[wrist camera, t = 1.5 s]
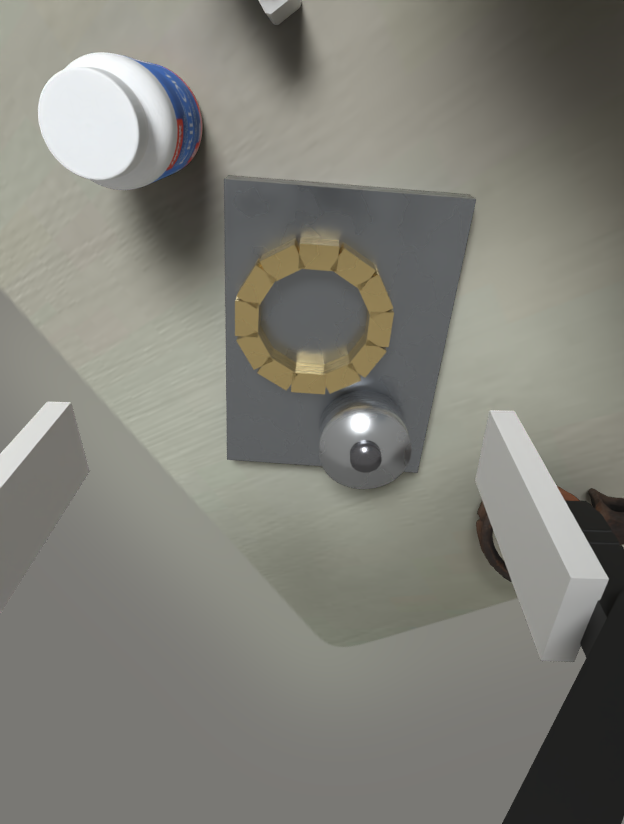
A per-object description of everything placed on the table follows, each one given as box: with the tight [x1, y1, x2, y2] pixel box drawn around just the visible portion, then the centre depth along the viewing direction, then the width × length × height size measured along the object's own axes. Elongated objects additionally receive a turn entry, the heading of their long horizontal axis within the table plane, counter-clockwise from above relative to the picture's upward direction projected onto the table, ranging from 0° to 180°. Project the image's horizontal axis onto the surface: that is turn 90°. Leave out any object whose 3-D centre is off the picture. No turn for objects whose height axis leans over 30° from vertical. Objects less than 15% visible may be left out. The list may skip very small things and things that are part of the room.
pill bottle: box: [38, 52, 202, 190], centre depth 25 cm, size 6×5×10 cm
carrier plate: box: [224, 175, 476, 489], centre depth 34 cm, size 19×14×5 cm
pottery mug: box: [476, 486, 624, 582], centre depth 40 cm, size 12×9×8 cm
